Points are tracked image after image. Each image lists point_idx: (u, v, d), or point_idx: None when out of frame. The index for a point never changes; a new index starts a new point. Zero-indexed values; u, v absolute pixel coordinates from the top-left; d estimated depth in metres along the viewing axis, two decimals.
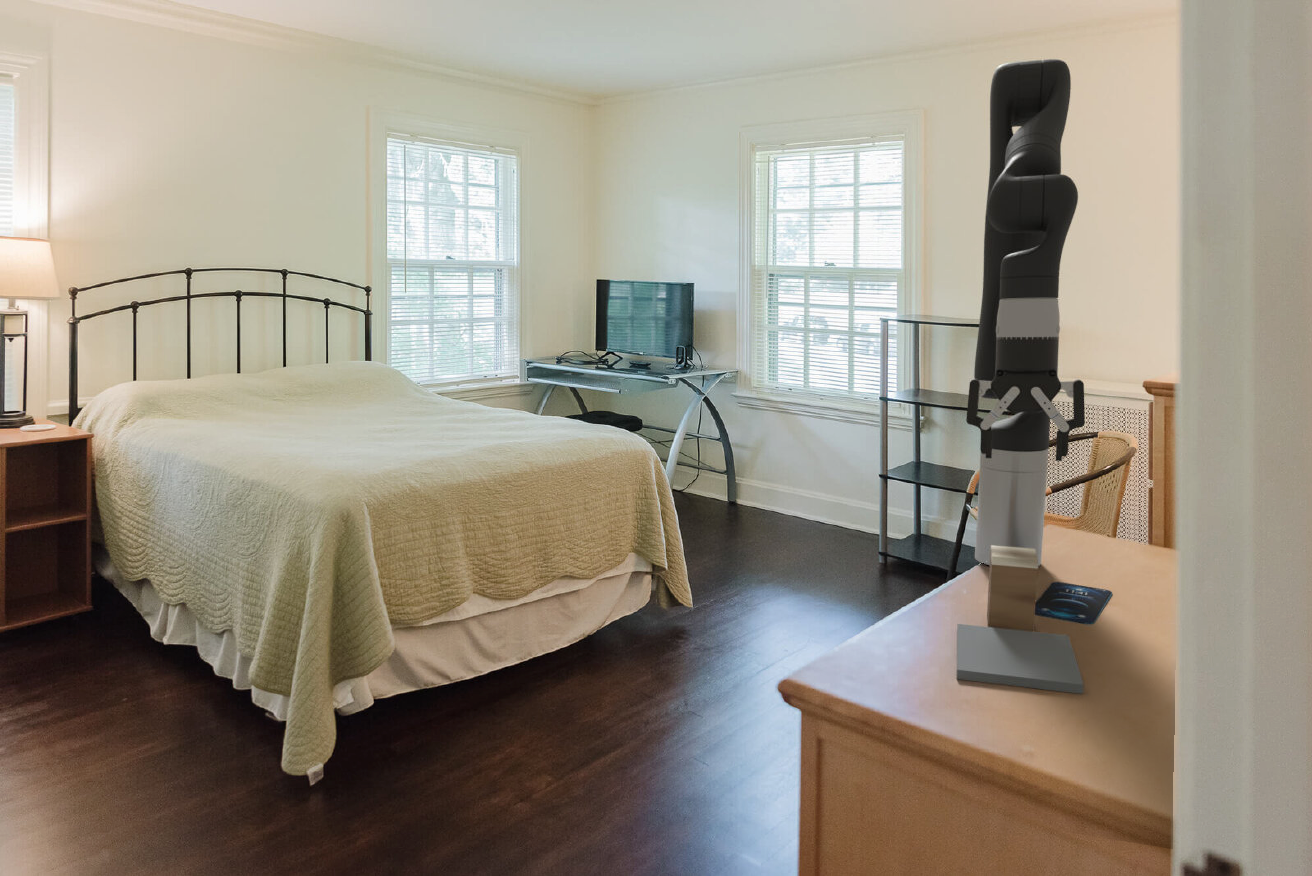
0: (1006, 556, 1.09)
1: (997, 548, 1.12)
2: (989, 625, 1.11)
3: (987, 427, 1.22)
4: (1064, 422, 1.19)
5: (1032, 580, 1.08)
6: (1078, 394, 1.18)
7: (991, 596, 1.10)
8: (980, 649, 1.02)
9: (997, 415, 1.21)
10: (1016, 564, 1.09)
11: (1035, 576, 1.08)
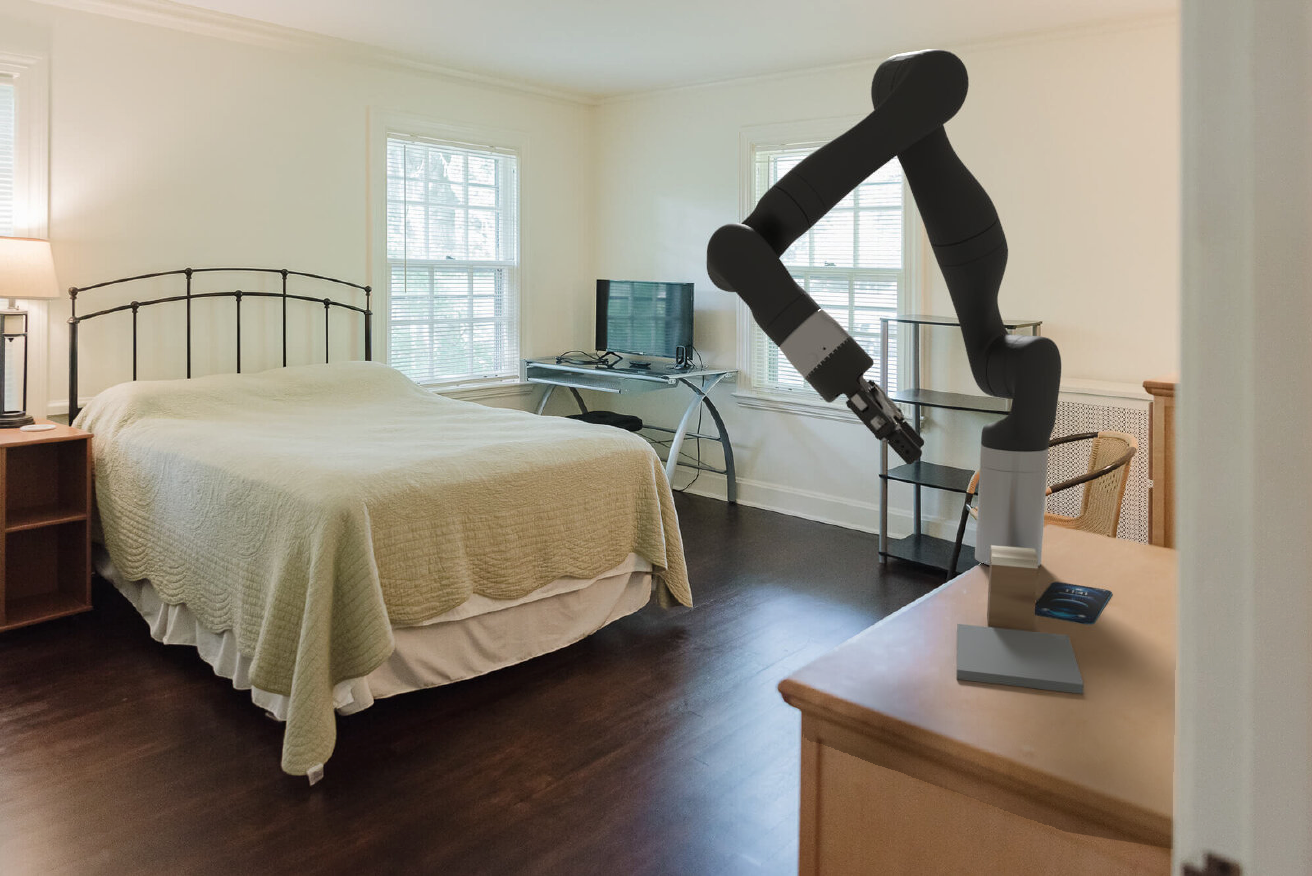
0: (1006, 556, 1.09)
1: (997, 548, 1.12)
2: (989, 625, 1.11)
3: None
4: None
5: (1032, 580, 1.08)
6: None
7: (991, 596, 1.10)
8: (980, 649, 1.02)
9: None
10: (1016, 564, 1.09)
11: (1035, 576, 1.08)
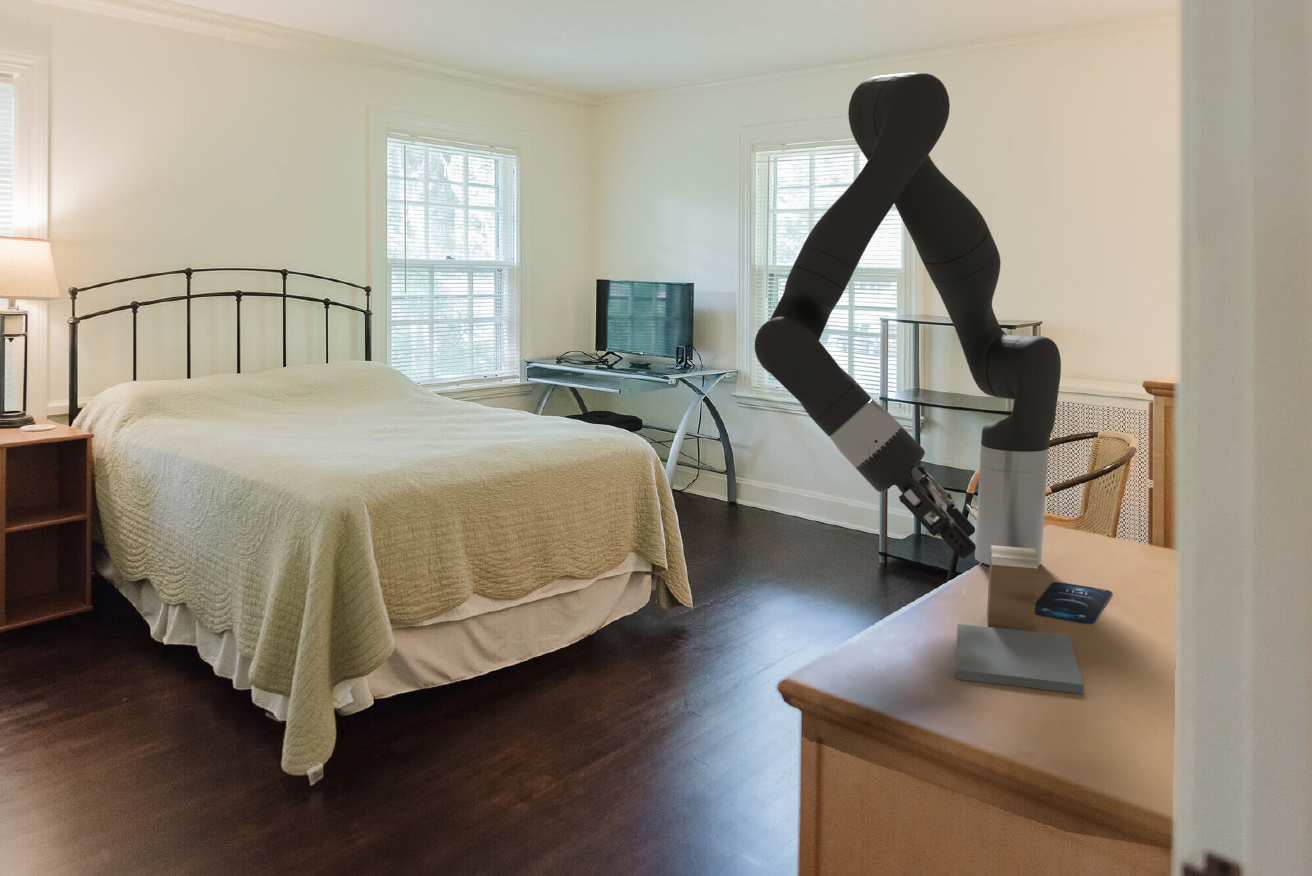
0: (1006, 556, 1.09)
1: (997, 548, 1.12)
2: (989, 625, 1.11)
3: None
4: None
5: (1032, 580, 1.08)
6: None
7: (991, 596, 1.10)
8: (980, 649, 1.02)
9: None
10: (1016, 564, 1.09)
11: (1035, 576, 1.08)
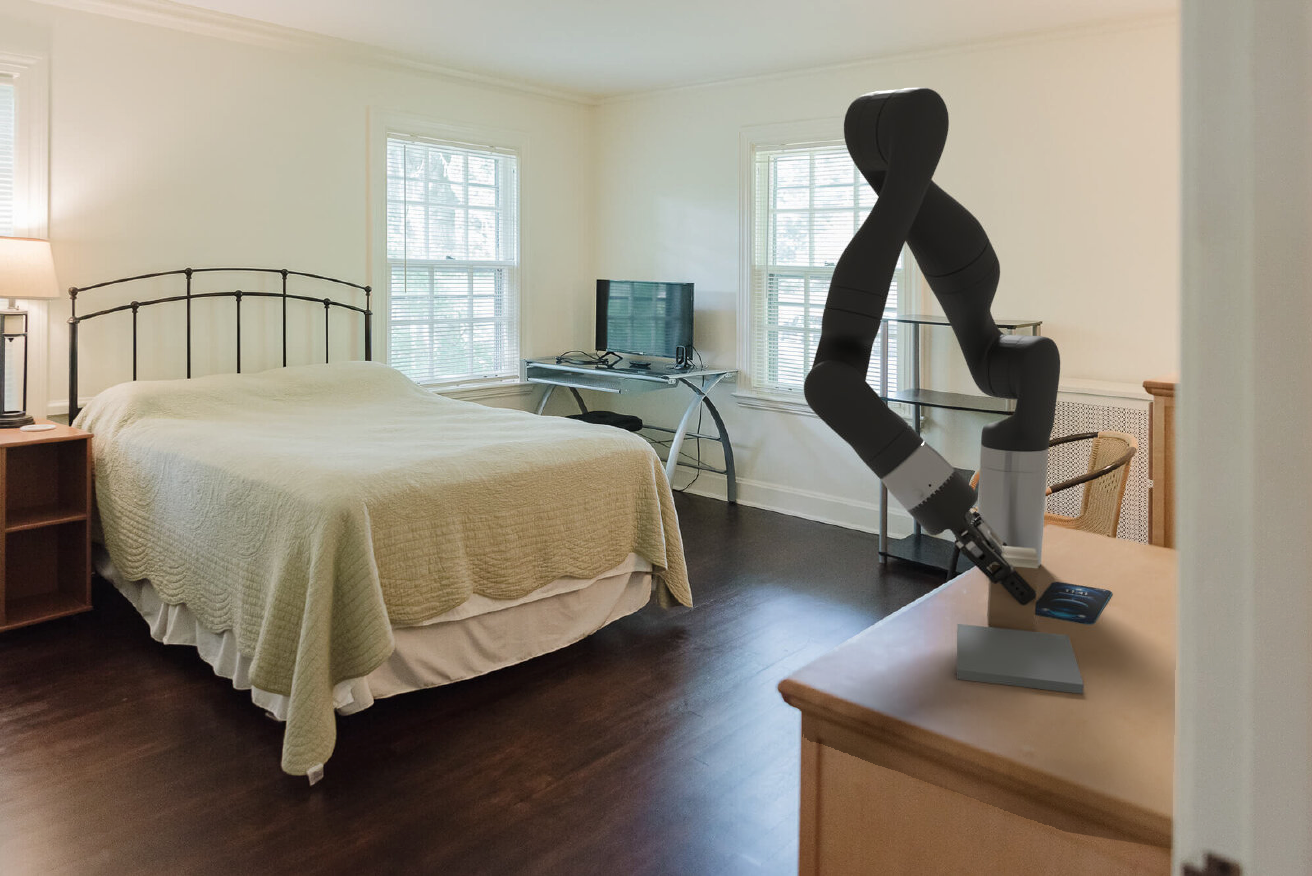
0: (1007, 556, 1.09)
1: None
2: (989, 625, 1.10)
3: None
4: None
5: (1032, 579, 1.08)
6: None
7: (991, 596, 1.10)
8: (980, 649, 1.02)
9: None
10: (1016, 564, 1.08)
11: (1035, 576, 1.08)
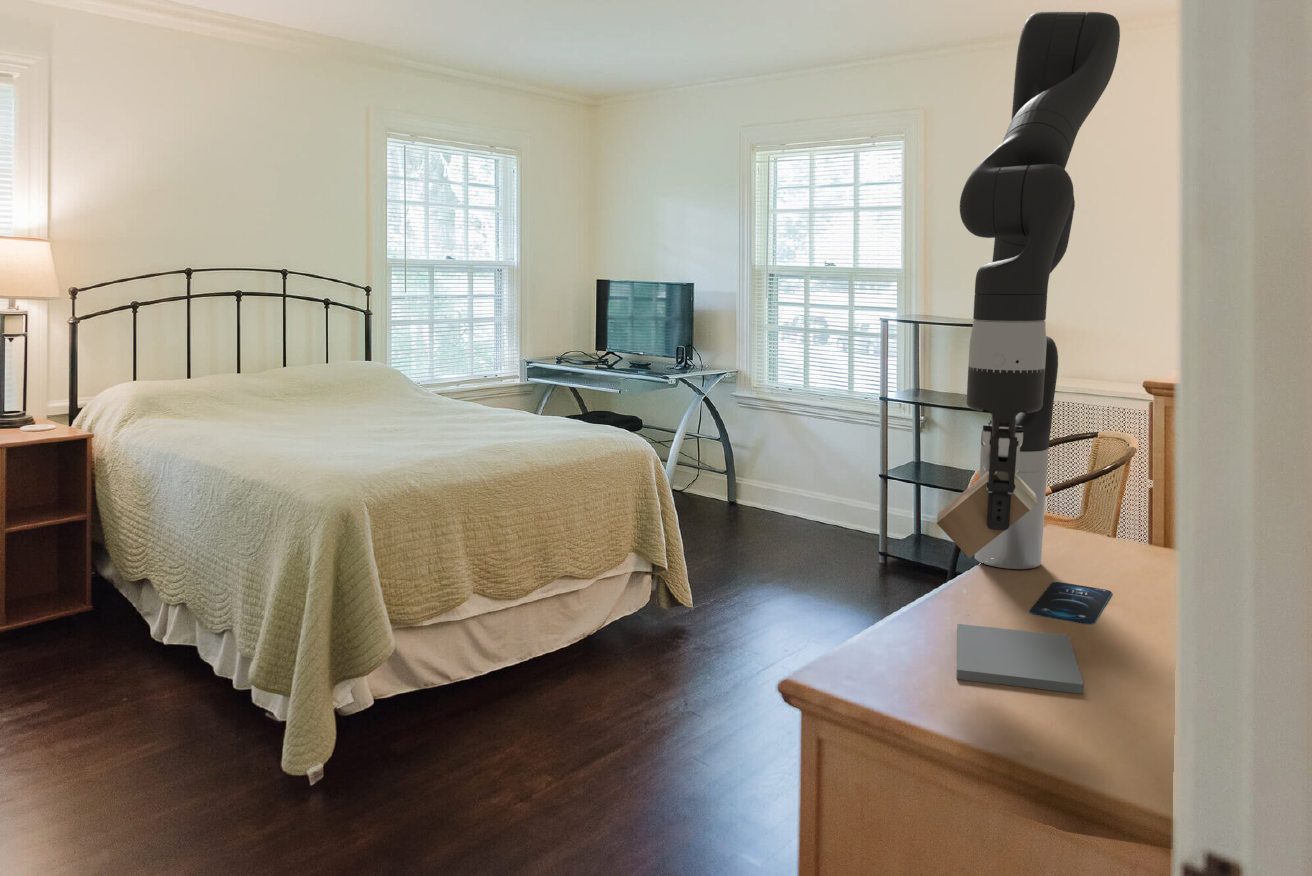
0: (1014, 479, 0.97)
1: None
2: (941, 520, 0.99)
3: None
4: None
5: (1015, 515, 0.97)
6: (990, 452, 0.94)
7: (967, 499, 0.98)
8: (980, 649, 1.02)
9: (984, 461, 1.02)
10: (1016, 492, 0.96)
11: (1021, 514, 0.97)
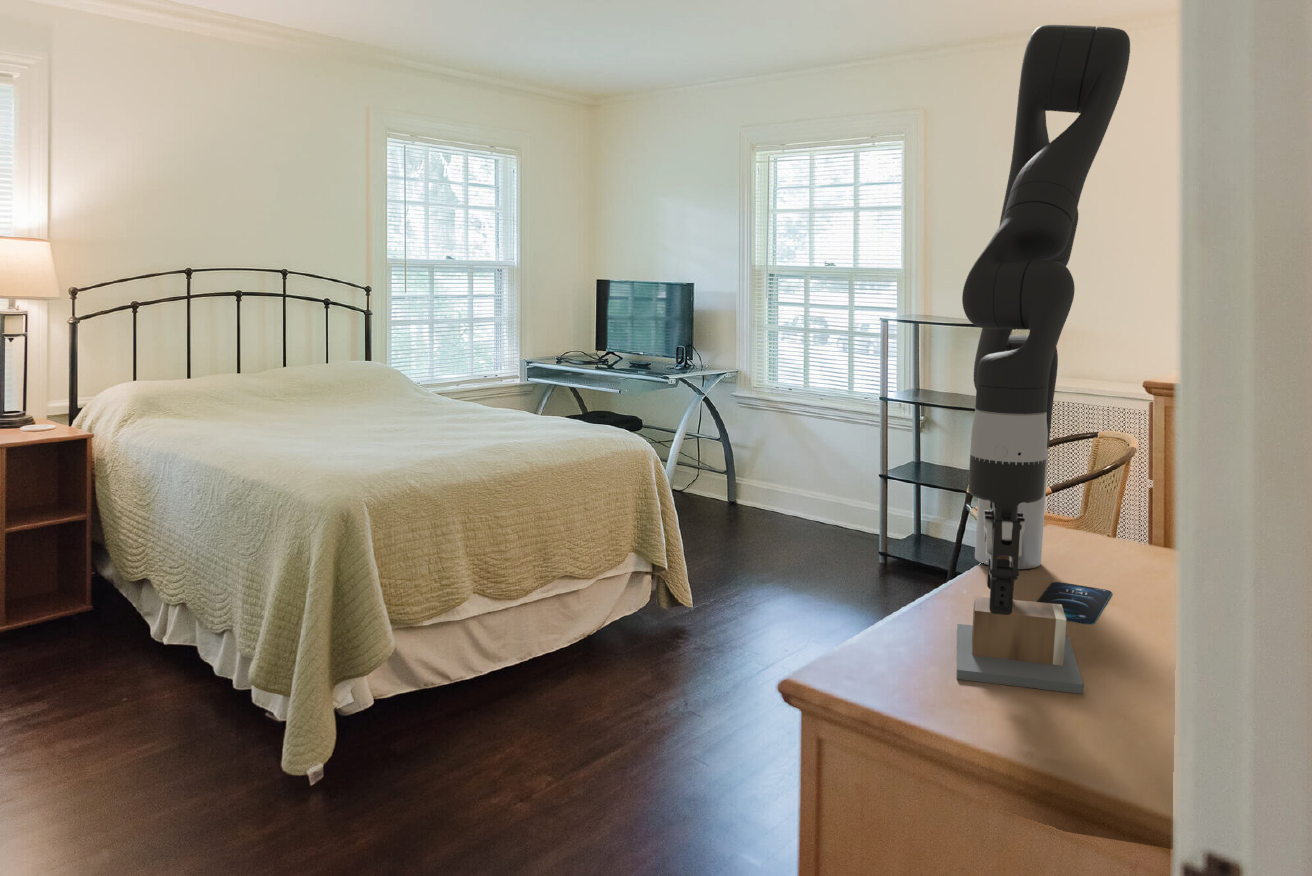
0: None
1: None
2: (980, 612, 0.99)
3: None
4: (991, 566, 0.96)
5: (1038, 658, 0.98)
6: (993, 536, 0.94)
7: (1016, 616, 0.98)
8: None
9: (985, 540, 1.04)
10: (1057, 643, 0.97)
11: (1042, 661, 0.98)
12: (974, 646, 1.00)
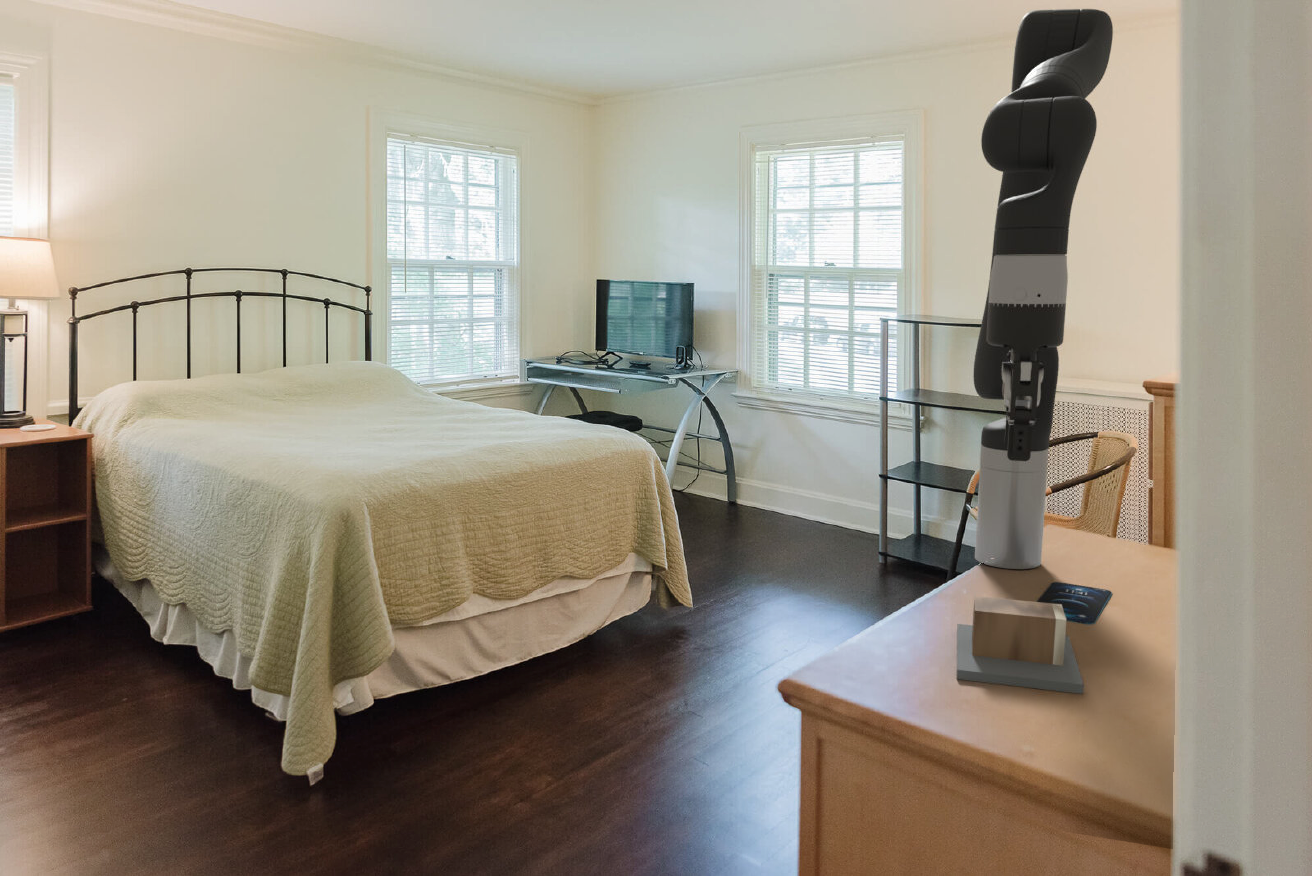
0: None
1: None
2: (980, 612, 0.99)
3: None
4: (1009, 411, 0.95)
5: (1038, 658, 0.98)
6: None
7: (1016, 616, 0.98)
8: None
9: None
10: (1057, 643, 0.97)
11: (1042, 661, 0.98)
12: (974, 646, 1.00)
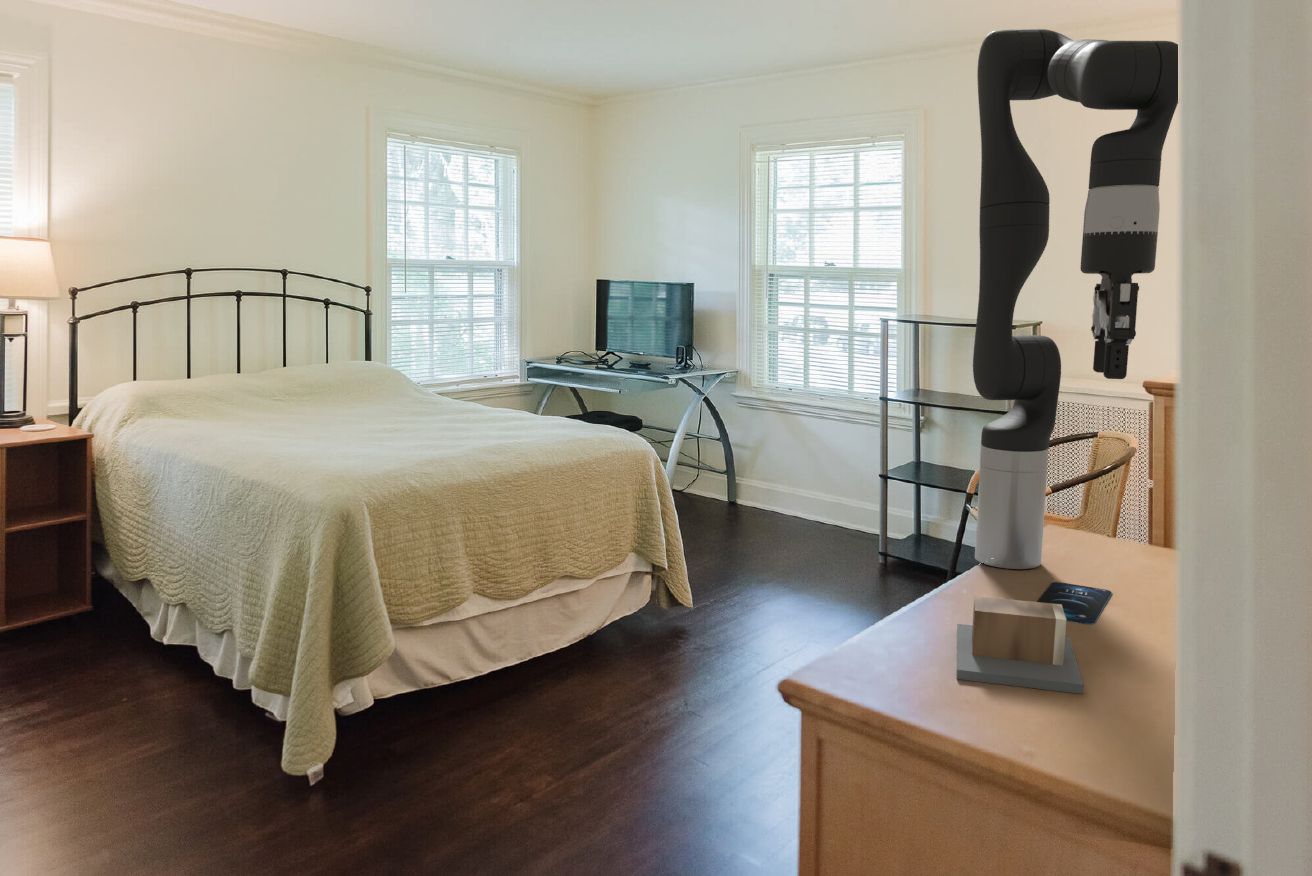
0: None
1: None
2: (980, 612, 0.99)
3: (1094, 336, 1.10)
4: (1106, 332, 1.02)
5: (1038, 658, 0.98)
6: (1111, 299, 1.00)
7: (1016, 616, 0.98)
8: None
9: (1093, 323, 1.09)
10: (1057, 643, 0.97)
11: (1042, 661, 0.98)
12: (974, 646, 1.00)
